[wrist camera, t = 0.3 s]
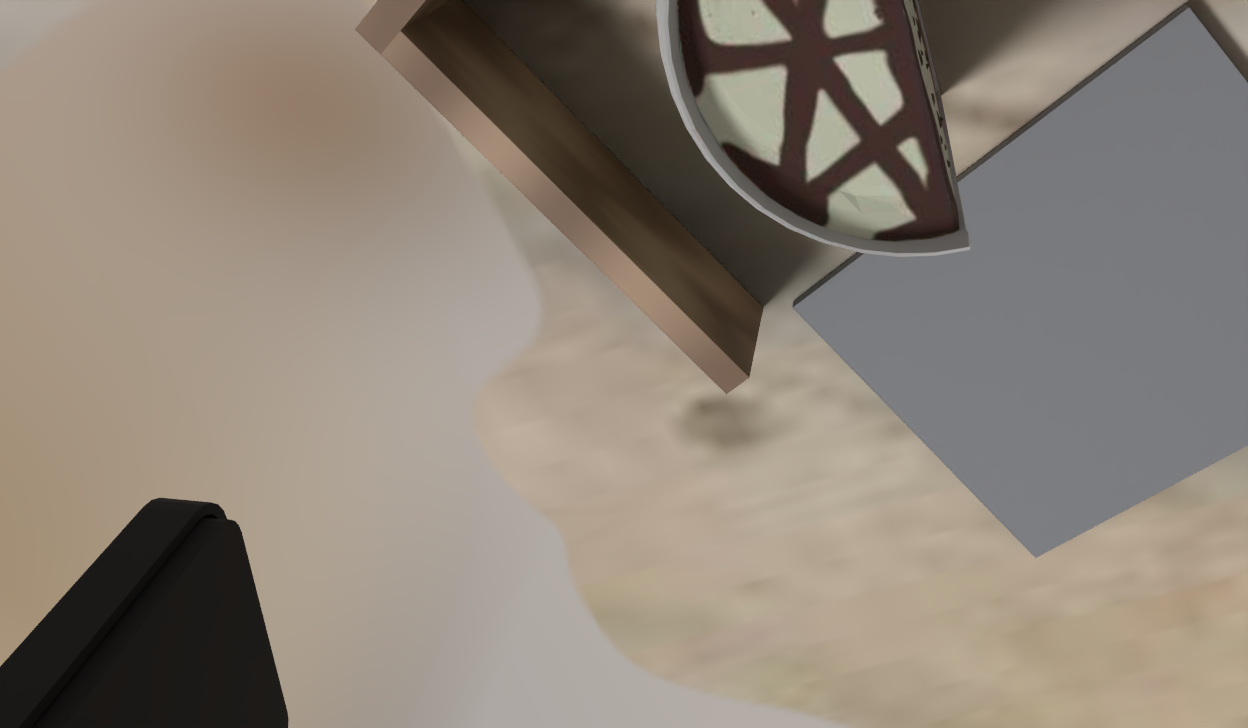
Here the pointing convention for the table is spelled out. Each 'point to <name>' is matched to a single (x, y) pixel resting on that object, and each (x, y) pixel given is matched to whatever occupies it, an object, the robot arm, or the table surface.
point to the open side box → (570, 178)
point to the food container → (820, 117)
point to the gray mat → (1076, 298)
